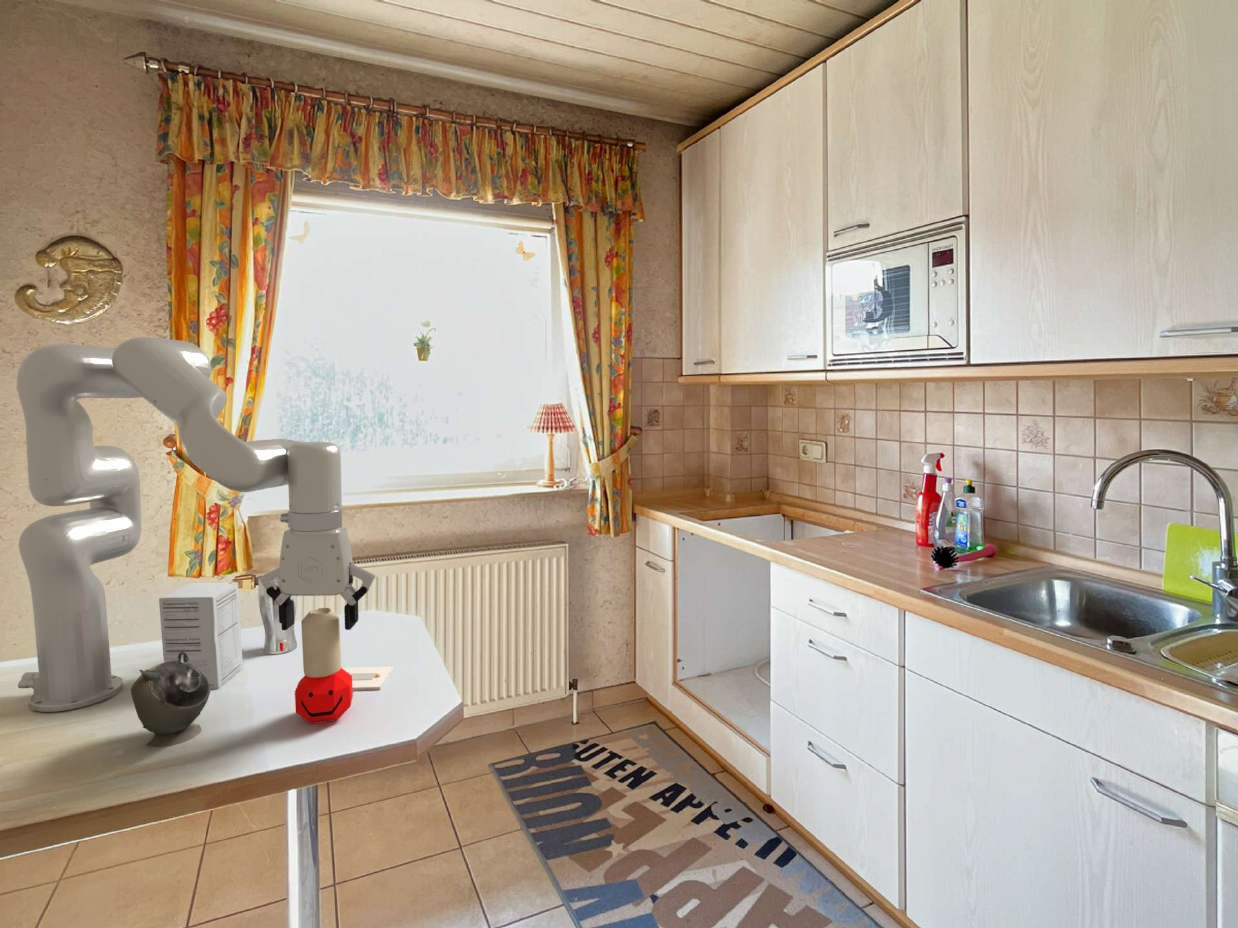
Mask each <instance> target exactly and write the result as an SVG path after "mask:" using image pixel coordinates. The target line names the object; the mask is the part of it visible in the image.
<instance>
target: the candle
mask: <svg viewBox="0 0 1238 928" xmlns="http://www.w3.org/2000/svg"><path fill="white" fill-rule="evenodd" d="M340 627H341V625H340V616H339V615H338V614H337V613H336V612H334V611H333V610H332V609H331V608H329V607H320V608H318V609H310V611H308V613H307V614H306V615H305V616H304V617H303V619H302V620H301V643H302V663H303V666H302V667H303V675H304V676H305V675H306V676H308V677H325V676H329V675H332V674H335V673H337V672H338V671H339V670H340V669H341V668H342V655H341V654H342V653H341V652H342V651H341V650H342V649H341V629H340Z"/></svg>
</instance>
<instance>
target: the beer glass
mask: <svg viewBox="0 0 1238 928" xmlns="http://www.w3.org/2000/svg"><path fill="white" fill-rule="evenodd" d="M274 582H275V585H277V586H278V587H279V576H278V577H276V578H274ZM257 595H258V597H257V598H258V600H257V601H258V606H259V612H260V617H261V620H262V621H261V622H262V624H263V628H264V635H265V636H264V643H263V652H264V653H265V654H267V655H281V654H285V653H289V652H293V651H294V650H295V649H297V647H298V643H297V639H296V634H295V622H296V615H297V608H298V607H297V606H298V605H297V604H298V596H291V597H290V598H291V600H293V602H294V624H293V625H292V626H291V627H290V628H288V629H287V630H282V624H281V623H279V606H278V605H276V604H275V601H274V600H273V599H272V598H271V597H270V596H269V595H268V594H267V593H266V589H265V588H264V586H263V585H262V583H261V581H260V577H259V578H258V593H257Z"/></svg>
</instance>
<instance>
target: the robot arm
mask: <svg viewBox="0 0 1238 928" xmlns="http://www.w3.org/2000/svg"><path fill="white" fill-rule="evenodd" d="M211 375H212V363H211V361H210V358H209V357H208V355H207V354H206V353H205V351H204V350H203V349H201V348H200V347H199V346H197V345H196V344H194V343H192V342H190V341H186V340H178V339H167V338H157V337H149V336H148V337H147V336H145V337H144V336H143V337H135V338H130V339H128V340H125V341H124V342H122V343H120V344H119V345H118V346H117V347H107V346H106V347H105V346H96V345H84V344H54V345H48V346H43V347H41V348H40V347H39V348H37V349H36V350H33V351H32V352H31V353H29V354H28V355H27V356H26V357H25V358H24V360H23V361H22V362H21V363H20V366H19V369H18V372H17V377H16V388H17V393H18V398H19V401H20V404H21V405H20V406H21V407H22V413H23V416H24V422H25V431H26V432H25V441H26V458H27V460H26V462H27V476H28V478H27V479H28V486H29V487H28V488H29V491H30V494H31V496H32V498H33V499H34V501H36V502H37V503H38V504H41V505H42V506H43V505H44V506H46V507H65V506H73V505H80V504H86V503H89V508H86V509H81V510H74V511H69V512H62V513H57V514H53V515H48V516H45V517H42V518H40V519H39V518H38V519H37V520H34V522H32V523H30V524H29V525H28V526H27V527H26V528H24V529H23V531H22V533H21V534H20V536H19V540H18V550H19V554H20V558H21V560H22V563H23V566H24V569H25V571H26V575H27V577H28V578H27V579H28V582H29V587H30V593H31V600H32V601H31V602H32V603H31V604H32V611H33V622H34V630H35V643H36V644H35V645H36V646H35V647H36V654H37V666H38V668H37V669H38V671H30V672H27V671H26V672H24V673H23V674H22V676H21V679H20V680H19V681H18V684H17V687H18V689H32V690H33V694H32V695H31V696H30V697H29V699H28V706H29V709H32V710H33V711H35V712H36V711H37V712H43V713H45V712H46V713H52V712H55V713H56V712H64V711H70V710H75V709H79V708H83V707H88V706H91V705H93V704H96V703H99V702H102V701H105V700H107V699H109V698H112V697H113V696H115V695H117V694H118V693H119V692H120V691H122V689H123V688H124V680H123V678H122V677H121V676H118V675H116V674H115V675H114V674H112V665H111V653H110V641H109V640H110V639H109V626H108V625H109V624H108V615H107V613H108V612H107V602H106V600H107V599H106V593H105V589H104V586H103V584H102V582H101V580H100V579H99V578H98V577H97V576H96V574H95V573H94V572H93V571H92V569H91V567H90V566H92V565H94V564H98V563H102V562H106V561H110V560H114V559H116V558H117V559H118V558H120V557H123V556H125V555H127V554H129V553H131V552H132V551H133V550H134V549H135V548H136V547H137V545H138V544H139V542H140V538H141V534H142V533H141V532H142V510H141V507H142V505H141V482H140V481H141V479H140V472H139V469H138V466H137V464H136V462H135V460H134V459H133V457H132V456H131V455H130V454H129V453H128V452H127V451H126V450H125V449H122V448H120V447H118V446H114V445H113V446H112V445H94V444H95V443H94V438H93V437H94V435H93V433H94V432H93V431H94V428H93V424H92V420H91V417H90V416H89V414H88V412H87V410H86V409H85V408H84V406H83V405H82V404H81V403H80V402H79V400H80V399H136V398H137V399H139V398H143V399H144V400H145V401H147V402H148V403H149V404H151V406H152V407H154V408H155V409H157V410H158V411H159V412H161V414H163V415H164V416H166V417H167V418H168V419H169V420H170V421H171V422H173V423H174V424H175V425H176V426H177V427H178V436H179V437H178V438H179V440H180V443H181V446H182V448H183V449H184V452H185V454H186V456H187V457H188V459H189V460H190V461H191V462H192V463H193V464H194V465H195V466H196V467H197V468H199V469H200V470H201V471H202V472H204V473H205V474H206V476H208V477H209V478H211V479H212V480H213V481H215V482H216V483H218V484H219V485H221V486H223V487H224V488H226V489H228V490H231V491H233V492H238V493H251V492H256V491H262V490H266V489H271V488H277V487H282V486H283V487H284V486H288V506H289V507H288V511H287V513H281V514H280V518H279V520H280V522H281V523H286V524H287V525H288V527H287V528H289V529H287V530H285V531H283V535H282V540H281V547H280V548H281V549H280V555H279V567H276V568H275V569H273V570H271V571H269V572H267V573H264V574H263V575H261V576H260V577H259V578H260V581H261V583H262V585H263V586H264V588H265V589H266V593H267V594H268V595H269V596H270V597H271V598H272V599H273V600H274V601H275V604H276V605H278V606H279V623H281V624H282V630H287V629H288V628H290V627H291V626H292V625H293V624H294V625H295V623H294V602H293V600H291V598H290V597H291V596H297V597H298V596H299V597H302V596H303V597H308V596H310V597H311V596H315V597H318V596H319V597H320V596H321V597H323V596H325V597H326V596H327V597H328V596H332V597H333V596H339V595H340V596H341V597H342V599H344V601H345V602H346V604H345V605H344V611H343V613H344V629H345V630H346V631H350V630H351V629H353V627H354V626H355V625H356V623H358V621H359V601H360V600H361V599H362V598H363V596H365V595H366V594H367V593H368V592H369V591H370V588H371V587H372V585H373V583H374V580H375V578H376V576H375V574H373V573H371V572H369V571H367V570H365V569H363V568H362V567H359V566H358V565H355V564H354V563H353V554H352V548H351V541H350V537H349V534H348V530H347V528H346V527H343V505H342V503H343V498H342V467H341V466H342V464H341V462H342V461H341V459H342V458H341V451H340V448H339V446H338V445H337V444H336V443H333V442H328V441H305V442H303V441H298V440H292V439H285V438H275V439H274V438H273V439H260V440H259V439H258V440H249V441H243V440H241V439H239V437H237V436H236V435H235V434H234V433H232V432H231V431H230V430H228V429H227V428H226V427H224V426H223V425H222V424H221V423H220V422H219V421H218V418H219V416H220V415H221V413H222V412H223V411H224V409H225V406H226V403H227V396H226V392H225V391H224V389H222V388H221V387H220V386H219V385H218V384H216V383H215V382H214V381H213V380H211ZM278 576H279V587H278V586H277V585H275V582H274V578H276V577H278ZM354 577H355V578H357V579H358V580H361V581H362V582H361V585H360V587H359V589H356V588H355V587H354V586H353V584H354V580H355V579H354Z"/></svg>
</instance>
